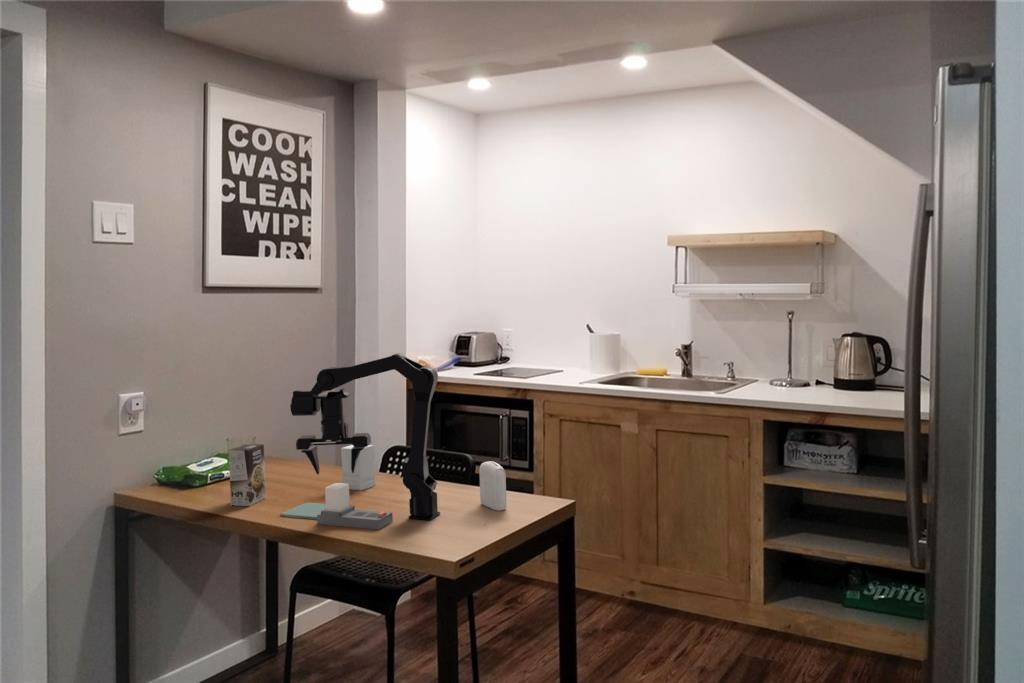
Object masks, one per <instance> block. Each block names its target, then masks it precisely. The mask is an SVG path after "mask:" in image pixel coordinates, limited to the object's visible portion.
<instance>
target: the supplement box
mask: <svg viewBox="0 0 1024 683" xmlns="http://www.w3.org/2000/svg"><path fill="white" fill-rule="evenodd" d="M353 447H354V446H353V445H352V444H349V445H347V446H344V447H341V448H340V451H341V452H340V453H341V454H340V455H341V474H342V483H343V484H349V490H355V491H364V490H367V489H369V488H372V487H375V486H376V485H377V484H376V463H375V445H373V444H369V445H368V446H367V447H365V448H364V449H363V450H361V451H360V454H359V456H358V459H357V463H356V467H355V470H354V473H352V470H351V449H352V448H353Z"/></svg>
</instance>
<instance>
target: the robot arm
mask: <svg viewBox="0 0 1024 683" xmlns="http://www.w3.org/2000/svg"><path fill="white" fill-rule="evenodd" d="M393 370H395V371H396V372H398V373H399V374H400V375H401V376H403V377H404V378H406V379H407V380H409V381H410V382H412V383H411V385H412V386H411V387H412V395H413V398H414V410H413V419H412V421H413V422H412V432H411V442H410V452H409V456H408V457H405V459H404V460H402V462H401V468H402V469H401V475H400V478H402V483H403V486H404V487H405V488H406V489H408V490H409V492H410V499H409V503H408V504H409V515H408V519H413V520H424V521H425V520H426V521H431V520H433V519H435V518H436V517H438V516H439V515H441V511H438V492H436V491H435V489H436V487H437V485H438V482H437V480H435V479H434V478H433V476H432V475H431V474H430V473H429V472H430V471H429V462H428V458H427V445H428V444H427V443H428V434H429V433H428V432H429V423H430V414H431V412H430V411H431V402H432V399H433V396H434V393H435V390H436V387H437V384H438V379H439V374H438V372H437V370H436V368H433V367H432V366H430V365H429V366H428V365H426V366H425V365H422V364H421V363H419V362H417V361H415V360H412V359H411V358H408V357H407V356H405V355H404V354H402V353H400V352H399V353H394V354H392V355H389V356H387V357H382V358H378V359H375V360H374V359H373V360H370V361H367V362H362V363H357V364H355V365H338V366H330V367H327V368H324V369H322V370H320V371H319V372H318V374H317V375H316V382H315V384H314V385H313V387H312V388H311V390H301V389H297V390H296V389H295V390H294V391H293V392H292V397H291V400H290V404H289V406H290V413H291V415H292V416H293V417H308V416H309V417H313V416H316V415H317V414H318V412H320V416H321V420H320V425H321V428H320V432H321V434H322V436H321V437H320V438H319V437H318V438H317V437H316V435H315V434H314V435H313V434H310V435H302V436H300V437H299V438H297V439H296V442H295V449H296V451H297V450H299V451H300V450H301V453H303V454H305V455H306V457H307V458H308V459H309V462H310V463H311V465H312V467H313V469H314V471H315V473H316V475H320V462H319V456H318V446H330V445H332V446H336V445H353V446H354V447H353V448H352V449H351V470H352V473H354V470H355V467H356V463H357V459H358V456H359V454H360V451H361V450H363V449H364V448H365V447H367V446H368V445H371V443H372V439H371V438H372V437H371V435H370V433H368V432H361V433H359V432H357V433H356V432H355V433H354V434H353V435H352V436H349V424H348V423H347V422H345V417H344V408H343V407H344V401H343V399H347V398H349V397H350V396H351V394H350V392H348V391H347V390H345V388H344V387H343V388H340V390H339V391H332V390H334V389H337V388H339V387H341V386H344V385H346V384H348V383H350V382H352V381H354V380H359V379H362V378H365V377H370V376H374V375H377V374H382V373H385V372H389V371H390V372H391V371H393ZM325 392H327V394H324V395H321V394H323V393H325Z"/></svg>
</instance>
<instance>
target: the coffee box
mask: <svg viewBox="0 0 1024 683" xmlns="http://www.w3.org/2000/svg"><path fill="white" fill-rule="evenodd" d="M228 457H229V458H228V459H229V460H228V461H229V487H230V506H232V505H234V507H235V506H236V507H238V506H239V507H252V506H253V505H256V504H257V503H260V502H261V500H262V501H264V500H266V499H267V493H266V492H267V490H266V467H265V466H266V465H265V444H260V443H259V444H258V443H257V444H256V443H254V444H251V443H250V444H243V445H239V446H236V447H234V448H230V449H229V450H228ZM263 499H264V500H263ZM259 501H260V502H259Z"/></svg>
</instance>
